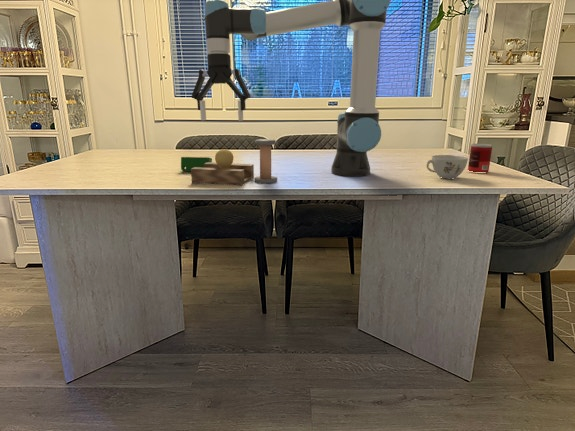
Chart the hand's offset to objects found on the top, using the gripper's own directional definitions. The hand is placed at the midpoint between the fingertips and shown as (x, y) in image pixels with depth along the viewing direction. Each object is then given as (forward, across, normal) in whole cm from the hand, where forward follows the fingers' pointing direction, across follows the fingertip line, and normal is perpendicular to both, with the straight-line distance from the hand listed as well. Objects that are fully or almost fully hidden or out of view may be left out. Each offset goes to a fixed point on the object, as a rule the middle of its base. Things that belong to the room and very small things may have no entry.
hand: (222, 120), depth 138 cm
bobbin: (+21, -15, -2) cm, 26 cm away
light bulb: (+20, 0, 0) cm, 20 cm away
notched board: (+21, 0, 0) cm, 21 cm away
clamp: (+21, +18, -15) cm, 31 cm away
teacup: (+22, -78, -25) cm, 84 cm away
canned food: (+22, -93, -41) cm, 104 cm away
